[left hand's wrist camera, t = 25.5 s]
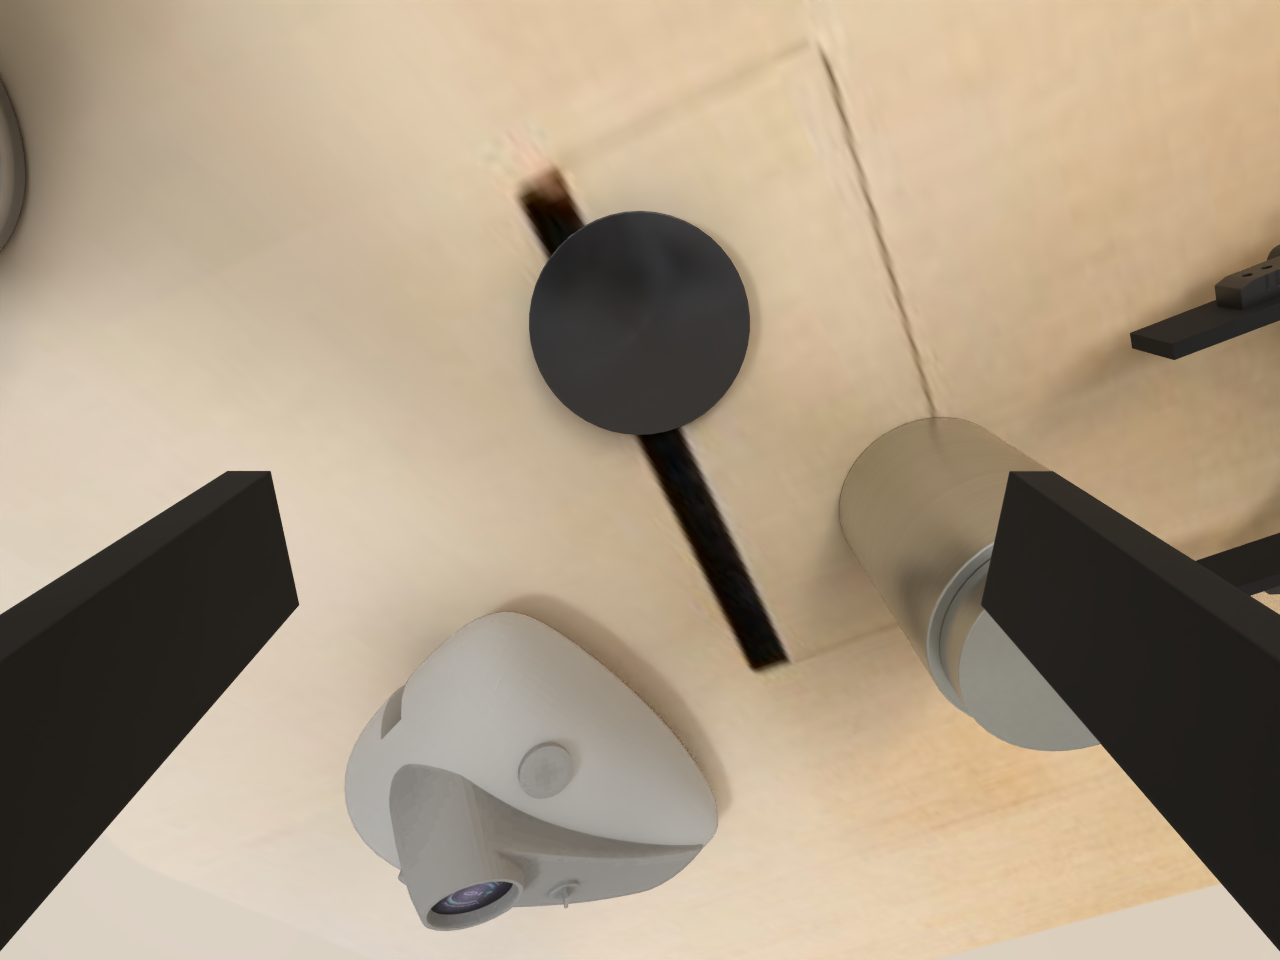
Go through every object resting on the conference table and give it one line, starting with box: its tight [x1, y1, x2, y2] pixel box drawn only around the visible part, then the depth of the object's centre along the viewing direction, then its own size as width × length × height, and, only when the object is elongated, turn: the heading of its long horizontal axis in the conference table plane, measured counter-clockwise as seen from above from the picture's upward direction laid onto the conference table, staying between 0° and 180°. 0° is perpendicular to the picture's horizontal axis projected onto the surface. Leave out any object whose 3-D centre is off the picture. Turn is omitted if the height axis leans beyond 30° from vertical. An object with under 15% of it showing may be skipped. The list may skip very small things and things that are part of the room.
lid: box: [529, 211, 750, 435], centre depth 35 cm, size 11×11×2 cm
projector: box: [345, 612, 718, 931], centre depth 39 cm, size 22×23×15 cm
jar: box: [839, 417, 1100, 751], centre depth 33 cm, size 10×10×15 cm
